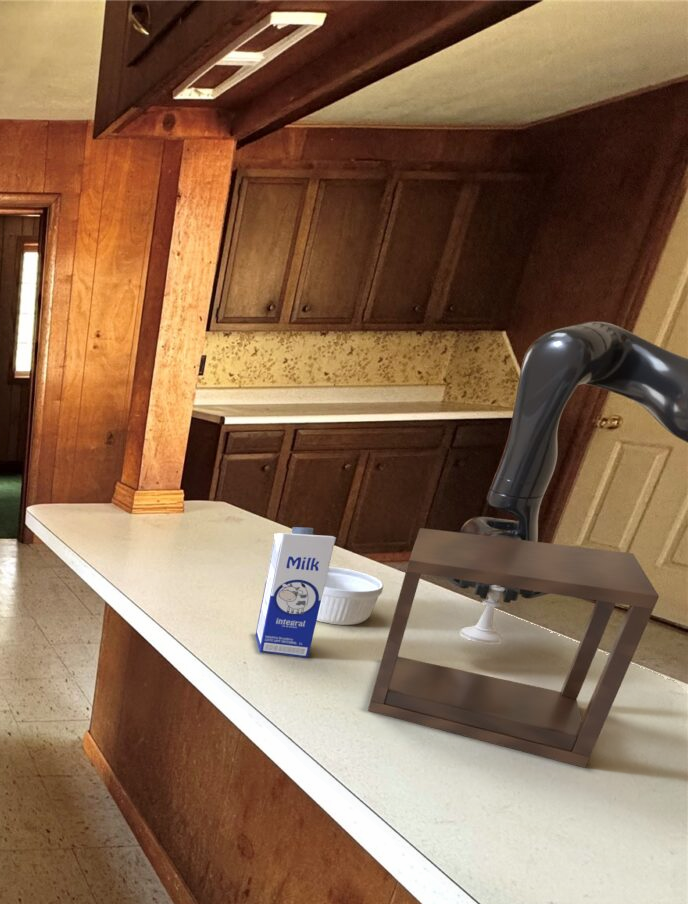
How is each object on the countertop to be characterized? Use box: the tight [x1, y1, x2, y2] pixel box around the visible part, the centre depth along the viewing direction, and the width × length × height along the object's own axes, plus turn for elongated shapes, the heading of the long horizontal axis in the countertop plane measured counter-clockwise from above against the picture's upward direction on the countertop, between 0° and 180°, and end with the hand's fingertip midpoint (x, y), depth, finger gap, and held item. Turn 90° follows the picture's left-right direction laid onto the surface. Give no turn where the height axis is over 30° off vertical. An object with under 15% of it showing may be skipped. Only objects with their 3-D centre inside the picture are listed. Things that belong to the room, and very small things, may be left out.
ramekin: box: [316, 566, 384, 626], centre depth 119 cm, size 13×13×7 cm
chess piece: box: [459, 585, 505, 645], centre depth 98 cm, size 5×5×10 cm
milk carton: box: [255, 526, 337, 659], centre depth 104 cm, size 7×7×20 cm
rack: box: [367, 527, 660, 768], centre depth 85 cm, size 21×18×22 cm
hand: (496, 594), depth 95 cm, fingers closed on chess piece
